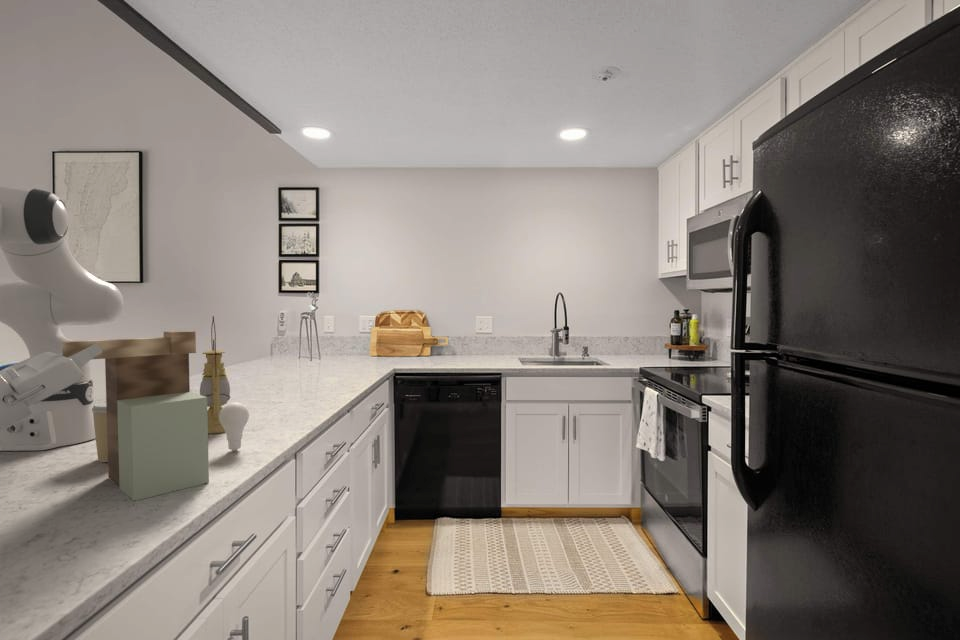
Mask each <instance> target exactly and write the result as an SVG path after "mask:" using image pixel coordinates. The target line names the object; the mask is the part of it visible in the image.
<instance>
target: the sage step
mask: <svg viewBox="0 0 960 640" xmlns="http://www.w3.org/2000/svg"><path fill="white" fill-rule="evenodd" d="M117 410H118V446H119V483H120V488H121V489H122V490H123V491H124V492H125V493H124V492H123V491H122V490H121V489H120V488H119V489H120V490H121V491H122V492H123V493H124V494H126V495H127V497H129V498H130V499H131V500H132V501H133V500H136V501H139V499H140V500H143V499H147V498H151V497H157V496H160V495H165V494H169V493H172V491H173V492H176V490H177V491H181V490H184V489H188V488H192V487H197V486H200V485H201V484H202V485H205V484H204V483H206V484H209V483H210V471H209V470H210V469H209V434H208V414H207V411H208V407H207V397H205V396H202V395H200V393H199V394H198V393H195V392H192V391H190V392H183V393H174V394H166V395H157V396H149V397H141V398H132V399H124V400H117ZM208 482H209V483H208ZM202 485H201V486H202Z"/></svg>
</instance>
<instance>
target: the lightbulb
mask: <svg viewBox="0 0 960 640" xmlns="http://www.w3.org/2000/svg"><path fill="white" fill-rule="evenodd" d="M249 418H250V413H249V409H248V408H247V407H246V406H245V404H243V403H240V402H237V401H236V402H235V401H233V402H229V403H226V404H225V405H223V407H222V409H221V411H220V413H219V420H220V423H221V425H222V426H223V428H224V430H225V432H224V433H225V435H226V441H227V442H228V444H227V446H228V450H231V451H232V452H237V451H238V450H239V449H241V446H242V439H243V433H244V429H245V427H246V425H247V423H248V421H249Z"/></svg>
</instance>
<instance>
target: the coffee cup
mask: <svg viewBox="0 0 960 640" xmlns="http://www.w3.org/2000/svg"><path fill="white" fill-rule="evenodd" d="M92 406H93V408H92V412H93V419H94V429H95V437H96V438H95V444H96V453H97V461H98V462H99V461H100V462H99V463H101V462H108V444H107V409H106V400H105V401H101V402H96V403H95V404H93V405H92Z"/></svg>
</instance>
